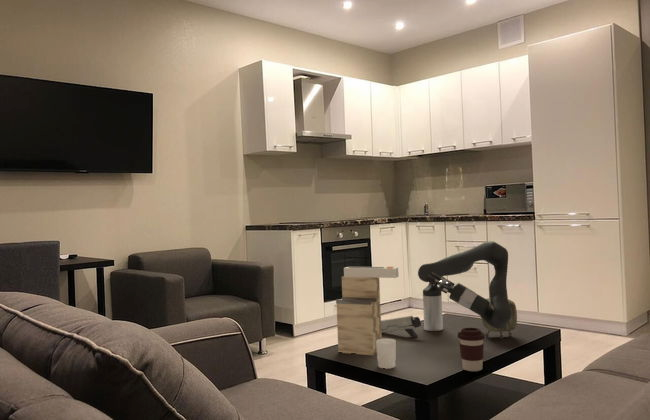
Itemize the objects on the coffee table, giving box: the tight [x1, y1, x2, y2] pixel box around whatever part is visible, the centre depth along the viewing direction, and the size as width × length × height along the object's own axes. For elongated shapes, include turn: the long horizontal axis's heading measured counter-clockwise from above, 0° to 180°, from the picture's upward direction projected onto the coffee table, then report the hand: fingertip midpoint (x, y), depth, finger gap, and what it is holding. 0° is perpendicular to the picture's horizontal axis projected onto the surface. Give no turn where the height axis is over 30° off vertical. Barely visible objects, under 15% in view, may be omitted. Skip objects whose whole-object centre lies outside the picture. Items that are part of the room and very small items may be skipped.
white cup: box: [376, 338, 397, 370], centre depth 209 cm, size 8×8×10 cm
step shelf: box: [335, 275, 383, 356], centre depth 233 cm, size 12×16×32 cm
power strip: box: [343, 266, 399, 279], centre depth 234 cm, size 4×24×4 cm, turn 66°
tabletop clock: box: [480, 297, 518, 340], centre depth 246 cm, size 14×9×25 cm, turn 88°
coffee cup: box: [457, 327, 486, 372], centre depth 201 cm, size 10×10×15 cm
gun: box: [381, 315, 422, 338], centre depth 258 cm, size 2×25×10 cm, turn 53°
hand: (428, 276), depth 224 cm, fingers open, 8 cm apart
